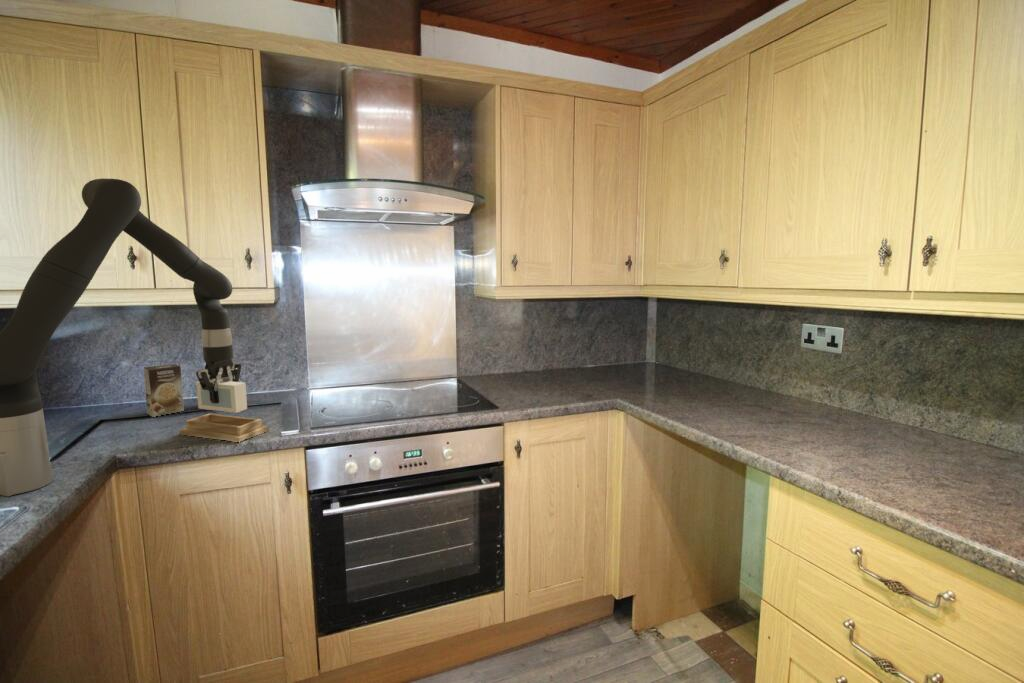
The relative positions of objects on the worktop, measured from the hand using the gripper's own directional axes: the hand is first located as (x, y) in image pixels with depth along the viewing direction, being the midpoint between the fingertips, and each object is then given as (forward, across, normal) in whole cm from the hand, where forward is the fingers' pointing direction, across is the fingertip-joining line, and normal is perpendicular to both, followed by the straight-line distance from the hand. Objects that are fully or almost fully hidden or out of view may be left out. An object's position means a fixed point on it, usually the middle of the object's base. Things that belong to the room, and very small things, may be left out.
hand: (222, 400), depth 145 cm
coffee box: (+10, +10, +36) cm, 39 cm away
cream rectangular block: (+2, 0, 0) cm, 2 cm away
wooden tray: (+10, 0, 0) cm, 10 cm away
